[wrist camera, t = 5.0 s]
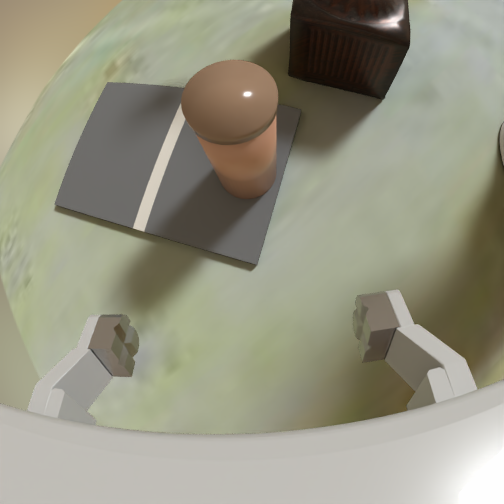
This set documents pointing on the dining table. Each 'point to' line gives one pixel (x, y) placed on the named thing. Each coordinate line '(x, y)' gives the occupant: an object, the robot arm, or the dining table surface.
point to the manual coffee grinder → (349, 43)
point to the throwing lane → (165, 174)
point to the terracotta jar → (235, 124)
